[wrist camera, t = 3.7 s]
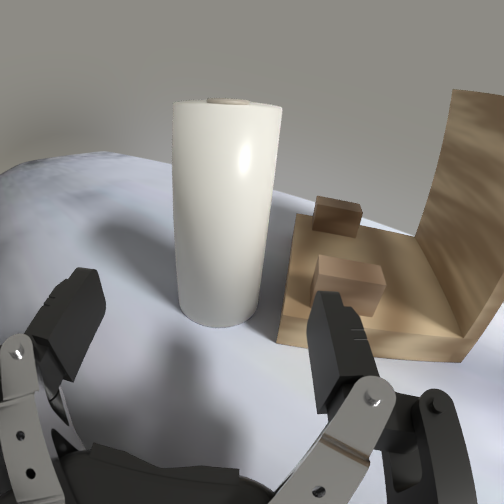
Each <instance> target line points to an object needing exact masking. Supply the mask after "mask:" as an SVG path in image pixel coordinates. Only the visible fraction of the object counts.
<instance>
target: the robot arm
mask: <svg viewBox="0 0 504 504" xmlns="http://www.w3.org/2000/svg"><path fill="white" fill-rule="evenodd" d="M105 310H106V301H105V297H104V293H103V290H102V286H101V282H100V278H99V275H98V272H97V270H95V269H88V268H80V267H78V268H76V269H75V270H74V272H73V273H72V274H71V276H70V277H69V279H65V280H64V281H62V282H61V283H60V284H58V285H57V286H56V287H55V288H54V290H53V291H52V292H51V294H50V295H49V298H47V299H46V301H45V302H44V306H42V307H41V308H40V310H39V311H38V313H37V314H36V316H35V317H34V319H33V320H32V322H31V323H30V325H29V327H28V328H27V330H26V331H25V333H24V334H15V335H13V336H11V337H9V338H8V339H7V340H6V341H5V342H4V343H3V345H0V448H1V446H2V451H3V455H4V459H5V464H6V467H7V471H8V475H9V479H10V482H11V485H12V489H11V490H10V491H8V492H6V493H5V494H3V495H1V496H0V504H347V503H348V502H349V500H350V499H351V497H352V496H353V494H354V492H355V491H356V489H357V488H358V486H359V484H360V483H361V481H362V479H363V478H364V476H365V474H366V472H367V470H368V468H369V466H370V461H369V457H370V455H371V453H372V451H373V449H374V450H380V451H382V459H383V467H384V475H385V484H386V494H387V504H477V497H476V491H475V485H474V480H473V475H472V470H471V465H470V461H469V457H468V452H467V448H466V444H465V441H464V437H463V433H462V429H461V426H460V423H459V419H458V416H457V413H456V409H455V406H454V403H453V401H452V399H451V398H450V396H449V395H448V394H447V393H445V392H444V391H442V390H439V389H429V390H427V391H425V392H424V393H423V394H422V395H421V396H420V397H416V396H411V395H406V394H401V393H397V392H395V391H394V389H393V387H392V386H391V385H390V384H389V383H388V382H387V381H386V380H384V379H383V378H380V376H379V373H378V370H377V367H376V363H375V360H374V357H373V354H372V351H371V348H370V345H369V341H368V340H367V335H366V332H365V331H364V327H363V324H362V321H361V318H360V316H359V315H358V314H357V313H356V311H355V310H354V309H353V308H352V307H348V306H344V305H343V302H342V299H341V296H340V293H339V292H335V291H317V292H316V295H315V298H314V302H313V305H312V308H311V312H310V315H309V318H308V322H307V329H306V337H307V344H308V350H309V357H310V364H311V371H312V378H313V385H314V393H315V400H316V408H317V414H327V415H328V423H327V425H326V426H325V428H324V429H323V431H322V432H321V433H320V435H319V436H318V438H317V439H316V440H315V442H314V443H313V444H312V446H311V447H310V449H309V450H308V451H307V453H306V454H305V455H304V456H303V458H302V459H301V460H300V462H299V463H298V464H297V465H296V467H295V468H294V469H293V470H292V471H291V473H290V474H289V475H288V476H287V477H286V478H285V480H284V481H283V482H282V483H281V484H280V486H279V487H278V488H277V489H276V490H275V491H274V492H273V491H272V490H271V489H269V488H267V487H266V486H264V485H263V484H261V483H259V482H257V481H255V480H252V479H250V478H247V477H244V476H240V475H239V469H233V468H220V467H209V466H192V467H179V468H159V467H156V466H154V465H152V464H149V463H147V462H145V461H143V460H141V459H139V458H137V457H135V456H133V455H131V454H129V453H127V452H125V451H121V450H117V449H113V448H110V447H106V446H103V445H100V444H96V443H93V446H92V449H91V450H86V449H85V447H84V445H83V443H82V441H81V439H80V438H79V436H78V435H77V433H76V431H75V429H74V426H73V423H72V420H71V417H70V414H69V411H68V407H67V404H66V401H65V397H64V394H63V390H62V388H61V386H60V384H61V382H62V380H63V379H64V380H67V381H70V382H74V380H75V377H76V375H77V373H78V370H79V368H80V366H81V364H82V361H83V359H84V357H85V355H86V352H87V350H88V348H89V346H90V344H91V342H92V340H93V337H94V335H95V333H96V331H97V329H98V327H99V325H100V323H101V321H102V319H103V317H104V315H105Z"/></svg>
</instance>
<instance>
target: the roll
mask: <svg viewBox="0 0 504 504" xmlns="http://www.w3.org/2000/svg"><path fill="white" fill-rule="evenodd" d="M281 117H282V107H279V106H274V105H269V104H262V103H255V102H250V101H248V100H242V99H228V98H227V99H226V98H208V99H207V100H188V101H178V102H174V103H173V139H172V183H173V219H174V240H175V257H176V272H177V284H178V296H179V305H180V308H181V310H182V312H183V313H184V314H185V315H186V316H187V317H188V318H189V319H191V320H192V321H194V322H196V323H198V324H200V325H203V326H207V327H212V328H226V327H232V326H236V325H239V324H241V323H243V322H245V321H247V320H248V319H249V318H250V317H252V315H253V314H254V313H255V311H256V309H257V306H258V300H259V292H260V285H261V277H262V270H263V262H264V255H265V247H266V239H267V232H268V224H269V216H270V208H271V200H272V192H273V183H274V175H275V167H276V159H277V151H278V142H279V134H280V125H281Z"/></svg>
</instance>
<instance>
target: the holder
mask: <svg viewBox="0 0 504 504" xmlns="http://www.w3.org/2000/svg"><path fill="white" fill-rule="evenodd" d="M362 214H363V212H362V209H361V207H360V204H357V203H352V202H347V201H341V200H336V199H332V198H326V197H321V196H317V198H316V203H315V208H314V213H313V216H309V215H303V214H298V213H297V215H296V221H295V226H294V232H293V238H292V245H291V252H290V259H289V266H288V273H287V279H286V286H285V293H284V299H283V305H282V311H281V318H280V324H279V330H278V336H277V341H276V343H279V344H284V345H290V346H296V347H302V348H308V344H307V337H306V329H307V322H308V318H309V315H310V312H311V308H312V305H313V302H314V298H315V295H316V292H317V291H335V292H339V293H340V296H341V299H342V302H343V305H344V306H348V307H352V308H353V309H354V310H355V311H356V313H357V314H358V315H359V316H360V318H361V321H362V324H363V327H364V331H365V332H366V335H367V340H368V341H369V345H370V348H371V351H372V354H373V357H380V358H391V359H403V360H416V361H433V362H458V363H461V362H462V360H463V359H464V358H465V357H466V355H467V354H468V353H469V351H470V350H471V349H472V347H473V346H474V345H475V343H476V342H477V341H478V339H479V338H480V336H481V335H482V334H483V332H484V331H485V329H486V328H487V326H488V325H489V323H490V322H491V320H492V319H493V317H494V316H495V314H496V312H497V311H498V309H499V308H500V306H501V304H502V303H503V301H504V96H501V95H495V94H489V93H481V92H474V91H466V90H457V89H453V90H452V98H451V103H450V109H449V115H448V120H447V125H446V130H445V135H444V139H443V144H442V148H441V152H440V156H439V160H438V164H437V168H436V172H435V175H434V179H433V182H432V186H431V189H430V193H429V196H428V199H427V202H426V206H425V208H424V212H423V215H422V218H421V221H420V224H419V226H418V229H417V232H416V235H415V237H413V236H408V235H404V234H399V233H395V232H390V231H385V230H381V229H376V228H371V227H366V226H361V225H360V221H361V218H362Z"/></svg>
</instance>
